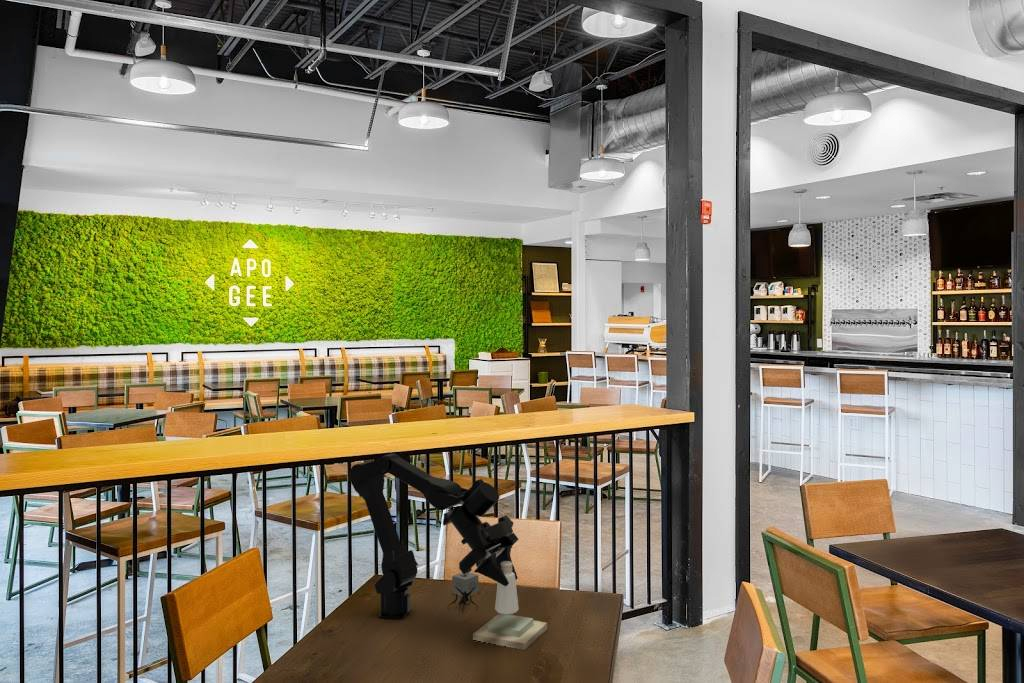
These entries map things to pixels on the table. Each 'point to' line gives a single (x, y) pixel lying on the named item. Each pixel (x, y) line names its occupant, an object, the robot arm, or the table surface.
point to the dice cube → (465, 583)
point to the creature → (463, 598)
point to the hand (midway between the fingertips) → (511, 582)
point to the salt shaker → (507, 591)
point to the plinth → (509, 639)
